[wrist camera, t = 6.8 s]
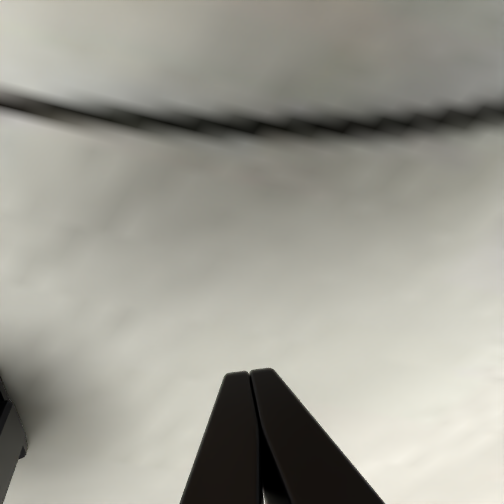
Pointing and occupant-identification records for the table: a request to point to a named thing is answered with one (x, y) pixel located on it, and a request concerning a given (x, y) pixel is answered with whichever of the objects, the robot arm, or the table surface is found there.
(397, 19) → the table surface
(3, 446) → the robot arm
